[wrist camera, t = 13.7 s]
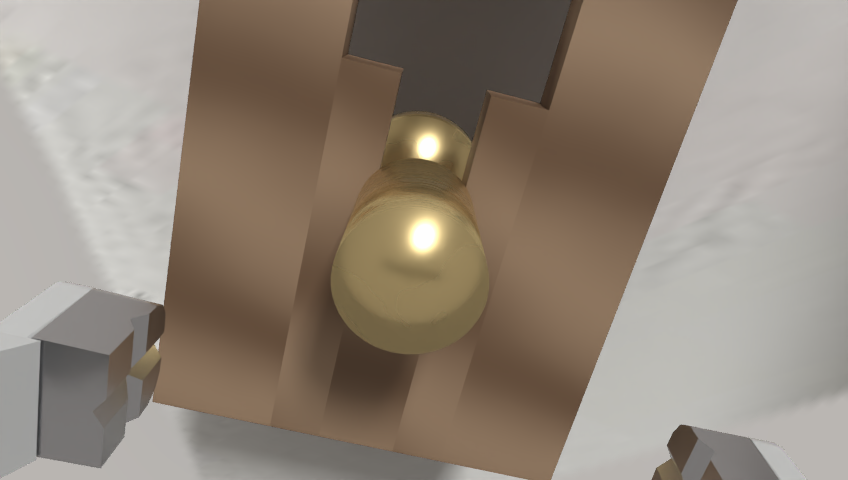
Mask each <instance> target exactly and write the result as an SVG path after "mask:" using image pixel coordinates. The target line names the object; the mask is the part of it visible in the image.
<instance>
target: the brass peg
mask: <svg viewBox="0 0 848 480" xmlns="http://www.w3.org/2000/svg"><path fill="white" fill-rule="evenodd" d="M471 145H472V141H471V140H470V138H469V137H468V135H467V134H466V133H465V132H464V131H463V130H462V129H461V128H460V127H459V126H458V125H456V124H455V123H454V122H452V121H451V120H449V119H447V118H445V117H443V116H441V115H438V114H435V113H431V112H425V111H409V112H403V113H399V114H396V115H393V116H392V121H391V125H390V130H389V134H388V138H387V143H386V147H385V151H384V156H383V160H382V165H381V168H380V169H379V170H377V171H376V172H375V173H374V174H372V175H371V176H370V177H369V179H368V180H367V181H366V182H365V184H364V185H363V187H362V188H361V190H360V193H359V195H358V197H357V200H356V203H355V205H354V208H353V211H352V213H351V216H350V218H349V221H348V224H347V226H346V229H345V232H344V234H343V237H342V240H341V242H340V245H339V248H338V250H337V253H336V256H335V258H334V262H333V265H332V271H331V291H332V296H333V300H334V303H335V306H336V308H337V310H338V313H339V314H340V316H341V317H342V319H343V321H344V322H345V323H346V324H347V326H348V327H349V328H350V329H351V330H352V331H353V332H354V333H355V334H356V335H357V336H359V337H360V338H361V339H363V340H364V341H366V342H367V343H369V344H371V345H373V346H375V347H377V348H380V349H382V350H386V351H389V352H393V353H399V354H423V353H428V352H433V351H436V350H439V349H442V348H444V347H446V346H449V345H451V344H452V343H454V342H456V341H457V340H459V339H460V338H461V337H463V336H464V335H465V334H466V333H467V332H468V331H469V330H470V329H471V328H472V327H473V326H474V324H475V323H476V322H477V320H478V319H479V317H480V315H481V314H482V312H483V310H484V307H485V305H486V302H487V298H488V293H489V272H488V267H487V262H486V258H485V254H484V249H483V245H482V241H481V237H480V232H479V228H478V224H477V219H476V215H475V211H474V207H473V202H472V199H471V196H470V194H469V192H468V190H467V188H466V186H465V185H464V183H463V182H462V178H463V174H464V170H465V167H466V163H467V159H468V156H469V152H470V149H471Z"/></svg>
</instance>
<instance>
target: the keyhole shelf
mask: <svg viewBox="0 0 848 480" xmlns="http://www.w3.org/2000/svg"><path fill="white" fill-rule="evenodd" d="M737 1H738V0H572V1H571V4H570V7H569V11H568V14H567V17H566V21H565V24H564V27H563V30H562V34H561V37H560V40H559V43H558V47H557V50H556V53H555V57H554V60H553V63H552V66H551V70H550V73H549V76H548V79H547V83H546V86H545V89H544V93H543V96H542V99H541V102H540V103H537V102H533V101H529V100H525V99H521V98H517V97H514V96H510V95H506V94H502V93H498V92H494V91H490V90H486V94H485V98H484V101H483V105H482V109H481V112H480V116H479V119H478V123H477V127H476V130H475V134H474V138H473V141H472V145H471V149H470V152H469V156H468V159H467V163H466V167H465V170H464V174H463V178H462V182H463V183H464V185H465V186H466V188H467V190H468V192H469V194H470V196H471V199H472V202H473V207H474V211H475V215H476V219H477V224H478V228H479V232H480V237H481V241H482V245H483V249H484V254H485V258H486V262H487V267H488V272H489V293H488V298H487V302H486V305H485V307H484V310H483V312H482V314H481V315H480V317H479V319H478V320H477V322H476V323H475V324H474V326H473V327H472V328H471V329H470V330H469V331H468V332H467V333H466V334H465V335H464V336H463V337H461V338H460V339H459V340H457V341H456V342H454V343H452V344H451V345H449V346H446V347H444V348H442V349H439V350H436V351H433V352H428V353H423V354H399V353H393V352H389V351H386V350H382V349H380V348H377V347H375V346H373V345H371V344H369V343H367V342H366V341H364V340H363V339H361V338H360V337H359V336H357V335H356V334H355V333H354V332H353V331H352V330H351V329H350V328H349V327H348V326H347V324H346V323H345V322H344V321H343V319H342V317H341V316H340V314H339V313H338V310H337V308H336V306H335V303H334V300H333V296H332V291H331V271H332V265H333V262H334V258H335V256H336V253H337V250H338V248H339V245H340V242H341V240H342V237H343V234H344V232H345V229H346V226H347V224H348V221H349V218H350V216H351V213H352V211H353V208H354V205H355V203H356V200H357V197H358V195H359V193H360V190H361V188H362V187H363V185H364V184H365V182H366V181H367V180H368V179H369V177H370V176H371V175H372V174H374V173H375V172H376V171H377V170H379V169H380V168H381V165H382V160H383V156H384V151H385V147H386V143H387V138H388V134H389V130H390V125H391V121H392V116H393V112H394V108H395V103H396V99H397V95H398V90H399V86H400V81H401V77H402V73H403V68H400V67H396V66H392V65H388V64H384V63H380V62H376V61H372V60H368V59H364V58H360V57H357V56H353V55H349V54H348V52H349V47H350V42H351V37H352V32H353V27H354V22H355V17H356V12H357V7H358V2H359V0H200V1H199V10H198V18H197V27H196V35H195V44H194V52H193V61H192V70H191V78H190V87H189V95H188V104H187V112H186V121H185V129H184V138H183V146H182V155H181V163H180V172H179V180H178V189H177V197H176V206H175V215H174V223H173V232H172V240H171V249H170V257H169V266H168V274H167V283H166V291H165V300H164V309H165V312H166V317H165V330H164V333H163V334H162V335H161V336H160V342H159V351H158V352H159V354H160V355H161V365H160V372H159V376H158V380H157V384H156V387H155V390H154V394H153V402H156V403H161V404H165V405H170V406H175V407H180V408H185V409H190V410H194V411H199V412H204V413H209V414H214V415H219V416H223V417H228V418H233V419H238V420H243V421H248V422H252V423H257V424H262V425H267V426H272V427H277V428H281V429H286V430H291V431H296V432H301V433H306V434H310V435H315V436H320V437H325V438H330V439H335V440H339V441H344V442H349V443H354V444H359V445H364V446H368V447H373V448H378V449H383V450H388V451H393V452H398V453H402V454H407V455H412V456H417V457H422V458H427V459H431V460H436V461H441V462H446V463H451V464H456V465H460V466H465V467H470V468H475V469H480V470H485V471H489V472H494V473H499V474H504V475H509V476H514V477H518V478H523V479H528V480H551V478H552V475H553V473H554V470H555V468H556V465H557V463H558V460H559V457H560V455H561V452H562V450H563V447H564V445H565V442H566V439H567V437H568V434H569V432H570V429H571V427H572V424H573V421H574V419H575V416H576V414H577V411H578V409H579V406H580V404H581V401H582V398H583V396H584V393H585V391H586V388H587V386H588V383H589V380H590V378H591V375H592V373H593V370H594V368H595V365H596V362H597V360H598V357H599V355H600V352H601V350H602V347H603V344H604V342H605V339H606V337H607V334H608V332H609V329H610V327H611V324H612V321H613V319H614V316H615V314H616V311H617V309H618V306H619V303H620V301H621V298H622V296H623V293H624V291H625V288H626V285H627V283H628V280H629V278H630V275H631V273H632V270H633V267H634V265H635V262H636V260H637V257H638V255H639V252H640V250H641V247H642V244H643V242H644V239H645V237H646V234H647V232H648V229H649V226H650V224H651V221H652V219H653V216H654V214H655V211H656V208H657V206H658V203H659V201H660V198H661V196H662V193H663V191H664V188H665V185H666V183H667V180H668V178H669V175H670V173H671V170H672V167H673V165H674V162H675V160H676V157H677V155H678V152H679V149H680V147H681V144H682V142H683V139H684V137H685V134H686V131H687V129H688V126H689V124H690V121H691V119H692V116H693V114H694V111H695V108H696V106H697V103H698V101H699V98H700V96H701V93H702V90H703V88H704V85H705V83H706V80H707V78H708V75H709V72H710V70H711V67H712V65H713V62H714V60H715V57H716V54H717V52H718V49H719V47H720V44H721V42H722V39H723V37H724V34H725V31H726V29H727V26H728V24H729V21H730V19H731V16H732V13H733V11H734V8H735V6H736V3H737Z"/></svg>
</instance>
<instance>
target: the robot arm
mask: <svg viewBox="0 0 848 480" xmlns="http://www.w3.org/2000/svg"><path fill="white" fill-rule="evenodd" d="M165 317H166V312H165V309H164V307H163V305H161V304H157V303H153V302H149V301H144V300H140V299H136V298H132V297H128V296H124V295H120V294H116V293H112V292H108V291H104V290H100V289H96V288H94V287H89V286H84V285H80V284H75V283H70V282H62V281H58V282H56V283H54V284H53V285H52V286H50V287H49V288H47V289H46V290H44V291H43V292H41V293H40V294H39V295H38V296H36V297H35V298H33V299H32V300H30V301H29V302H27V303H26V304H24V305H23V306H22V307H20V308H19V309H17V310H16V311H14V312H13V313H12V314H10V315H9V316H7V317H6V318H5V319H3V320H2V321H1V322H0V478H2V477H4V476H6V475H8V474H10V473H12V472H14V471H16V470H17V469H19V468H21V467H23V466H25V465H27V464H29V463H31V462H33V461H35V460H36V457H41V458H47V459H53V460H58V461H64V462H69V463H74V464H80V465H86V466H91V467H96V468H101V467H102V466H103V464H104V463H105V462H106V460H107V459H108V458H109V456H110V455H111V454H112V453H113V451H114V450H115V449H116V447H117V446H118V445H119V443H120V442H121V441H122V439H123V438H124V434H125V425H126V422H129V421H131V420H133V419H136V418H138V417H139V416H140V415H141V413H142V412H143V411H144V409H145V408H146V406H147V405H148V403H149V401H150V399H151V396H152V394H153V392H154V390H155V387H156V384H157V380H158V376H159V372H160V365H161V355H160V354H159V352H158V350H157V349H156V347H155V345H154V343H155V342H156V341H157V340H158V339H159V338H160V336H161V335H162V334H163V333H164V330H165ZM667 447H668V450H669V454H670V457H671V459H670V460H668V461H666V462H665V463H664V464H662V465H660V466H659V467H657V468H656V470H655V473H654V475H653V478H652V480H807V479H806V477H805V476H804V475H803V474H802V472H801V471H800V470H799V469H798V467H797V466H796V465H795V463H794V462H793V461H792V459H791V458H790V457H789V456H788V454H787V453H786V452H785V451H784V449H783V448H782V447H780V446H779V445H777V444H775V443H773V442H768V441H763V440H757V439H752V438H747V437H742V436H737V435H732V434H727V433H722V432H717V431H712V430H707V429H702V428H697V427H692V426H687V425H680V426H679V427H678V428H677V429H676V430H675V431H674V432H673V434H672V436H671V438H670V440H669V442H668V444H667Z"/></svg>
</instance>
